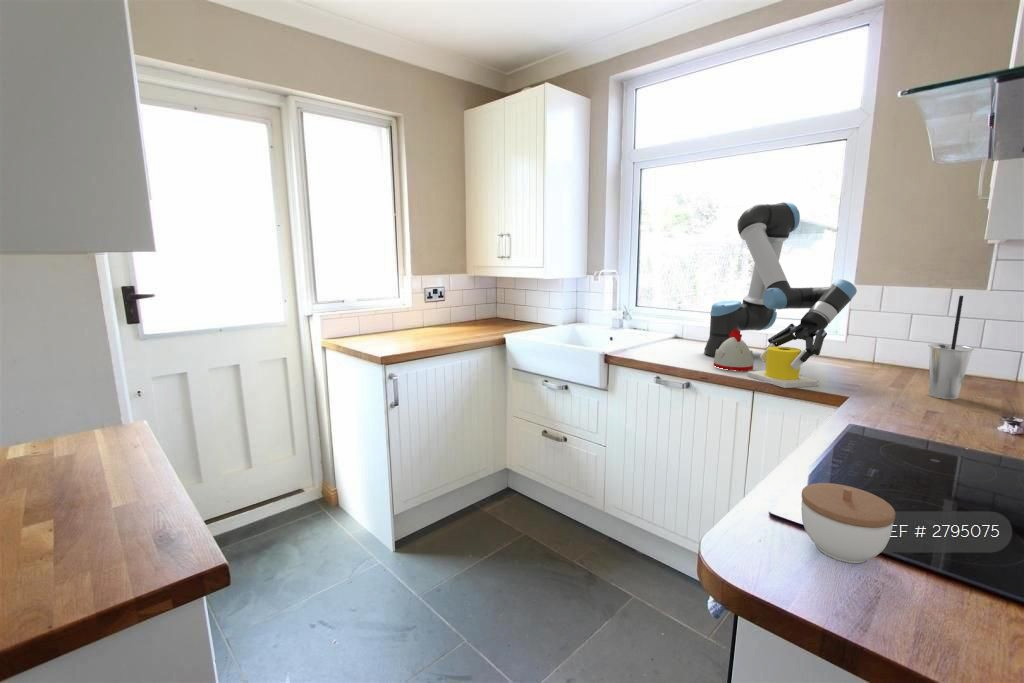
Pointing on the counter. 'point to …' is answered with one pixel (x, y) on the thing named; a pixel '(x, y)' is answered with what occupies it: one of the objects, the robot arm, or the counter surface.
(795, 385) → the marked board
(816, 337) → the robot arm
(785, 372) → the tape roll
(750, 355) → the kitchen timer
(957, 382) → the cup with straw
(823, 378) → the counter surface
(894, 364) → the counter surface
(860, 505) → the lidded jar
